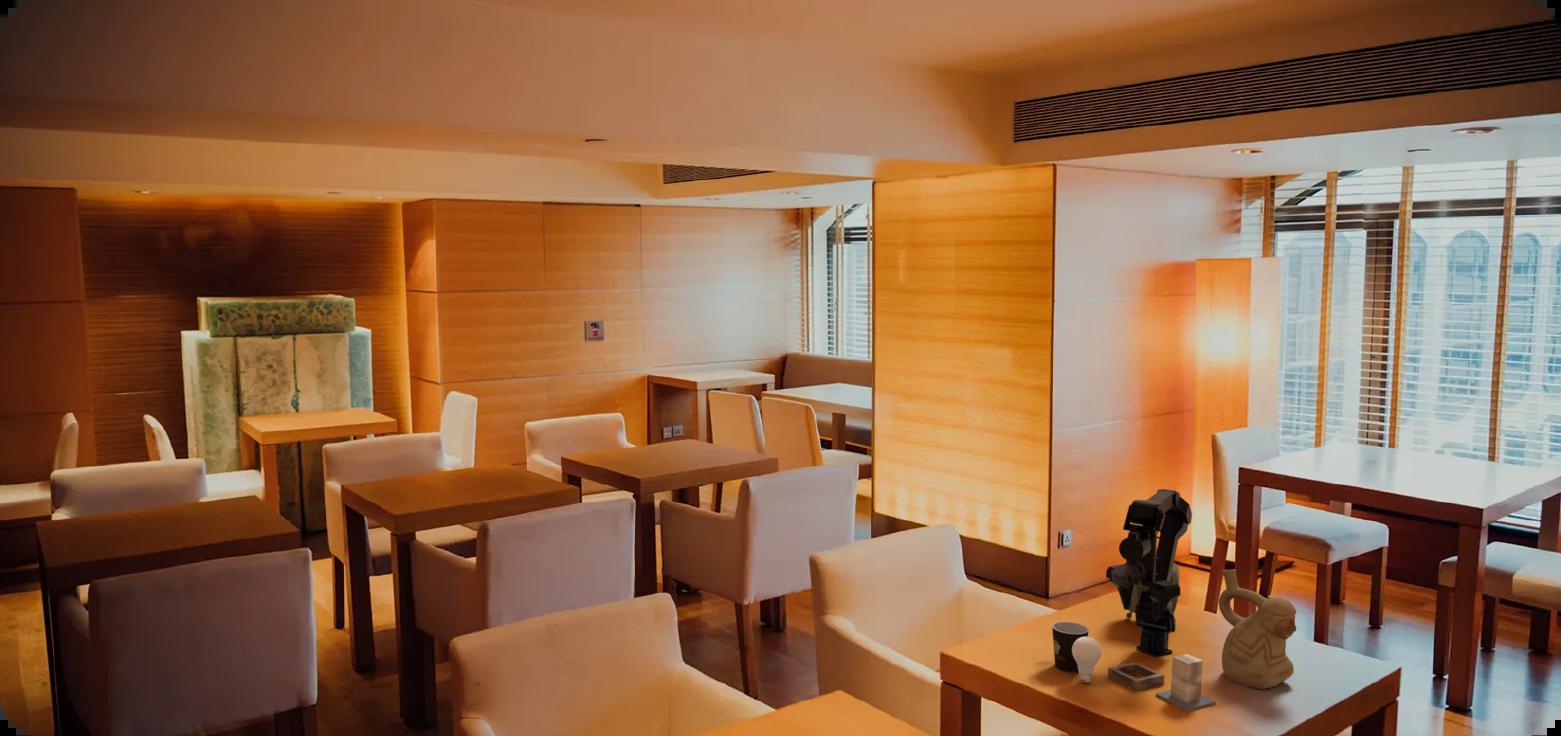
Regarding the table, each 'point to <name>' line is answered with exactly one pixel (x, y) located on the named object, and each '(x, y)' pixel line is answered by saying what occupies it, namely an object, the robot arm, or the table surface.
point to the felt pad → (1186, 706)
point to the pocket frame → (1147, 680)
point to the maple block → (1186, 678)
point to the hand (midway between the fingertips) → (1140, 615)
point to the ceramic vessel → (1256, 637)
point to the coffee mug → (1066, 644)
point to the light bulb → (1086, 657)
